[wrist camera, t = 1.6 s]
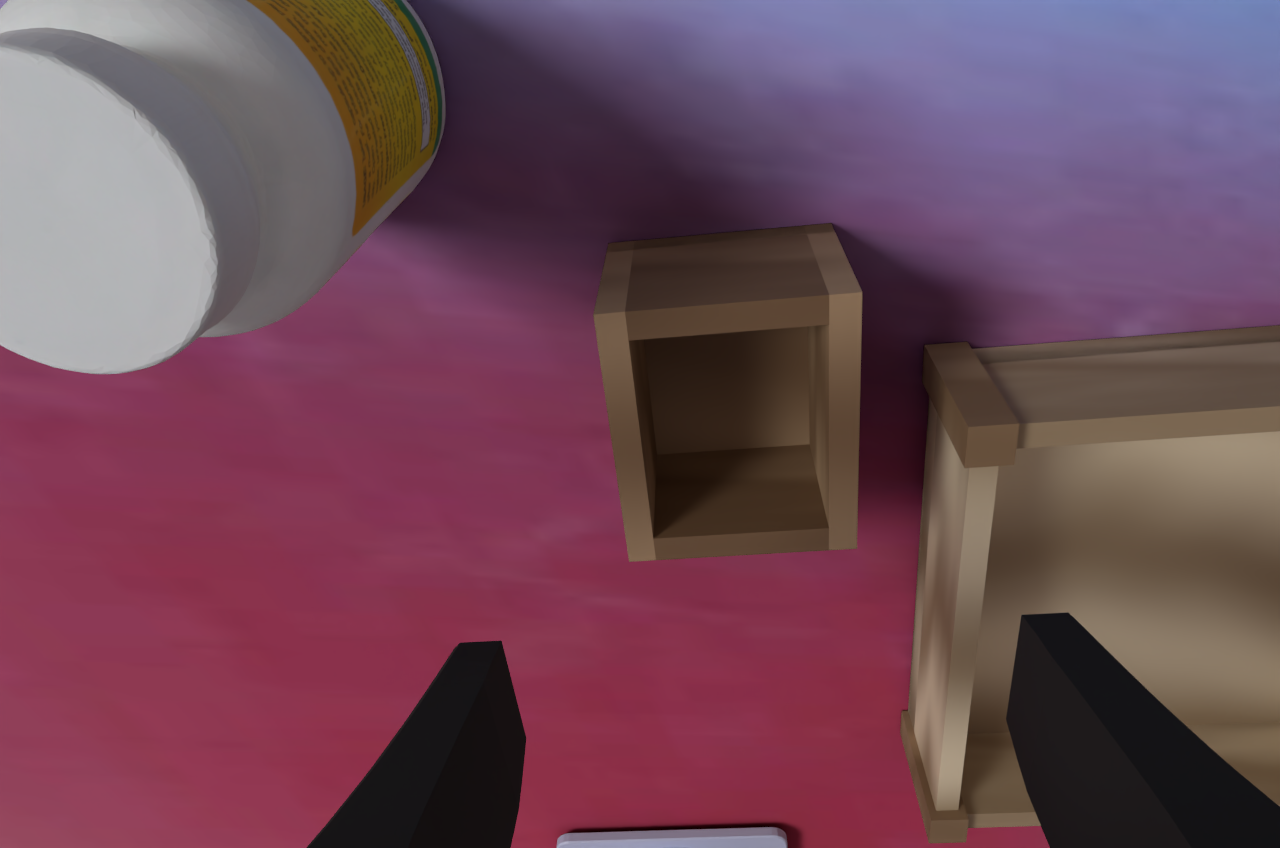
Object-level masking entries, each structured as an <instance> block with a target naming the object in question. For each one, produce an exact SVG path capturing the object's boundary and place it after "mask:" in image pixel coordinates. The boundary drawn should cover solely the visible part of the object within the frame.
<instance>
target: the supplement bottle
mask: <svg viewBox="0 0 1280 848" xmlns="http://www.w3.org/2000/svg"><path fill="white" fill-rule="evenodd" d="M445 118H446V104H445V90H444V84H443V78H442V73H441V68H440V64H439V61H438V57H437V54H436V51H435V49H434V46H433V43H432V41H431V39H430V36H429V34H428V32H427V30H426V28H425V27H424V25H423V23H422V21H421V20H420V18H419V17H418V15H417V14H416V12H415V11H414V9H413V8H412V6H411V5H410V4H409V3H408V2H407V0H8V1H7V2H6V4H5V5H4V6H3V7H2V8H1V9H0V345H1V346H3V347H5V348H7V349H9V350H11V351H13V352H15V353H17V354H19V355H22V356H24V357H27V358H29V359H32V360H35V361H37V362H40V363H43V364H46V365H49V366H51V367H55V368H60V369H66V370H71V371H77V372H83V373H92V374H118V373H126V372H131V371H136V370H140V369H145V368H148V367H151V366H154V365H156V364H159V363H162V362H164V361H166V360H167V359H169V358H171V357H172V356H174V355H176V354H177V353H179V352H181V351H182V350H183V349H185V348H186V347H187V346H188V345H189V344H191V343H192V342H193V341H194V340H196V339H197V338H198V337H219V336H227V335H234V334H240V333H245V332H249V331H253V330H256V329H259V328H261V327H264V326H267V325H269V324H272V323H274V322H276V321H278V320H280V319H282V318H284V317H285V316H287V315H289V314H290V313H292V312H294V311H295V310H297V309H298V308H299V307H301V306H302V305H303V304H305V303H306V302H307V301H308V300H309V299H311V298H312V297H313V296H314V295H315V294H316V293H317V292H318V291H319V290H320V289H321V288H322V287H323V286H324V285H325V284H326V283H327V282H328V281H329V280H330V278H331V277H332V276H333V275H334V274H335V273H336V272H337V271H338V270H339V269H340V268H341V267H342V266H343V265H344V264H345V263H346V261H347V260H348V259H349V258H350V257H351V256H352V255H353V254H354V253H355V252H356V250H357V249H358V248H359V247H360V246H361V245H362V244H363V243H364V242H365V241H366V240H367V238H368V237H369V236H370V235H371V234H372V233H373V232H374V231H375V229H376V228H377V227H378V226H379V225H380V224H381V223H382V222H383V221H384V220H385V219H386V218H387V217H388V216H389V215H390V214H391V213H392V212H393V211H394V210H395V209H396V208H397V207H398V206H399V205H400V204H401V203H402V202H403V200H404V199H405V198H406V197H407V196H408V195H409V194H410V193H411V192H412V191H413V190H414V189H415V187H416V186H417V185H418V184H419V182H420V181H421V180H422V178H423V177H424V175H425V174H426V172H427V171H428V170H429V168H430V166H431V164H432V163H433V161H434V159H435V156H436V154H437V151H438V148H439V145H440V142H441V139H442V135H443V131H444V125H445Z"/></svg>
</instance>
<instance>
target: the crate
mask: <svg viewBox="0 0 1280 848" xmlns="http://www.w3.org/2000/svg"><path fill="white" fill-rule="evenodd" d="M922 383H923V385H924V387H925V389H926V391H927V393H928V395H929V408H928V423H927V438H926V453H925V468H924V483H923V498H922V513H921V528H920V543H919V558H918V573H917V588H916V603H915V618H914V632H913V647H912V662H911V677H910V692H909V707H908V711H902V714H901V730H900V734H901V737H902V741H903V745H904V749H905V753H906V757H907V760H908V764H909V768H910V772H911V776H912V780H913V783H914V787H915V791H916V795H917V799H918V803H919V806H920V810H921V814H922V818H923V822H924V826H925V830H926V833H927V837H928V841H929V843H956V842H966V837H967V829H968V828H980V827H1014V826H1041V824H1040V822H1039V820H1038V817H1037V815H1036V813H1035V810H1034V808H1033V805H1032V803H1031V800H1030V798H1029V795H1028V793H1027V790H1026V787H1025V783H1024V780H1023V777H1022V774H1021V770H1020V767H1019V764H1018V760H1017V757H1016V753H1015V750H1014V746H1013V743H1012V739H1011V735H1010V732H1009V728H1008V725H1007V721H1006V715H1007V708H1008V702H1009V695H1010V688H1011V682H1012V675H1013V668H1014V661H1015V655H1016V648H1017V641H1018V635H1019V628H1020V621H1021V615H1027V614H1047V613H1067V612H1068V613H1069V614H1070V615H1072V616H1073V617H1074V618H1075V619H1076V620H1077V621H1078V622H1079V623H1080V624H1081V625H1082V626H1083V627H1084V628H1085V629H1086V630H1087V631H1088V632H1089V633H1090V634H1091V635H1092V636H1093V637H1094V638H1095V639H1096V640H1097V641H1098V642H1099V643H1100V644H1101V645H1102V646H1103V647H1104V648H1105V649H1106V650H1107V651H1108V652H1109V653H1110V654H1111V655H1112V656H1113V657H1114V658H1115V659H1116V660H1117V661H1119V662H1120V663H1121V664H1122V665H1123V666H1124V667H1125V668H1126V669H1127V670H1128V671H1129V672H1130V673H1131V674H1132V675H1133V676H1134V677H1135V678H1136V679H1137V680H1138V681H1139V682H1140V683H1141V684H1142V685H1143V686H1144V687H1145V688H1146V689H1147V690H1148V691H1149V692H1150V693H1151V694H1153V695H1154V696H1155V697H1156V698H1157V699H1158V700H1159V701H1160V702H1161V703H1162V704H1163V705H1164V706H1165V707H1166V708H1167V709H1168V710H1170V711H1171V712H1172V713H1173V714H1174V715H1175V716H1176V717H1177V718H1178V719H1179V720H1181V721H1182V722H1183V723H1184V724H1185V725H1186V726H1187V727H1188V728H1189V729H1190V730H1191V731H1193V732H1194V733H1195V734H1196V735H1197V736H1198V737H1199V738H1200V739H1201V740H1202V741H1204V742H1205V743H1206V744H1207V745H1208V746H1209V747H1210V748H1211V749H1212V750H1214V751H1215V752H1216V753H1217V754H1218V755H1219V756H1220V757H1222V758H1223V759H1224V760H1225V761H1226V762H1227V763H1228V764H1230V765H1231V766H1232V767H1233V768H1234V769H1235V770H1237V771H1238V772H1239V773H1240V774H1241V775H1243V776H1244V777H1245V778H1246V779H1247V780H1248V781H1250V782H1251V783H1252V784H1253V785H1254V786H1256V787H1257V788H1258V789H1259V790H1260V791H1262V792H1263V793H1264V794H1265V795H1266V796H1268V797H1269V798H1270V799H1271V800H1272V801H1274V802H1275V803H1276V804H1277V805H1279V806H1280V325H1278V326H1265V327H1252V328H1238V329H1225V330H1212V331H1199V332H1186V333H1173V334H1160V335H1147V336H1134V337H1121V338H1108V339H1094V340H1081V341H1068V342H1055V343H1042V344H1029V345H1016V346H1003V347H990V348H977V349H972V348H971V347H970V345H969V344H968V342H957V343H944V344H931V345H924V357H923V373H922Z"/></svg>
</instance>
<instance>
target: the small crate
mask: <svg viewBox="0 0 1280 848" xmlns="http://www.w3.org/2000/svg"><path fill="white" fill-rule="evenodd" d="M593 316H594V322H595V329H596V336H597V343H598V350H599V357H600V364H601V371H602V378H603V385H604V391H605V398H606V405H607V412H608V419H609V426H610V433H611V440H612V447H613V453H614V460H615V467H616V474H617V481H618V488H619V495H620V502H621V509H622V516H623V522H624V529H625V536H626V543H627V550H628V557H629V562H631V561H649V560H666V559H683V558H701V557H718V556H736V555H753V554H771V553H788V552H805V551H823V550H840V549H857V518H858V472H859V426H860V380H861V334H862V290H861V288H860V286H859V284H858V281H857V279H856V277H855V275H854V273H853V270H852V268H851V266H850V264H849V262H848V259H847V257H846V255H845V253H844V251H843V248H842V246H841V244H840V242H839V239H838V237H837V235H836V233H835V231H834V228H833V226H832V224H831V223H826V224H815V225H804V226H793V227H782V228H771V229H760V230H748V231H737V232H726V233H715V234H704V235H693V236H682V237H671V238H659V239H648V240H637V241H626V242H615V243H608V248H607V252H606V257H605V262H604V266H603V271H602V276H601V281H600V285H599V290H598V295H597V300H596V304H595V309H594V314H593Z"/></svg>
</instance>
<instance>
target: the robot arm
mask: <svg viewBox="0 0 1280 848" xmlns="http://www.w3.org/2000/svg"><path fill="white" fill-rule="evenodd" d="M1006 721H1007V725H1008V728H1009V732H1010V735H1011V739H1012V743H1013V746H1014V750H1015V753H1016V757H1017V760H1018V764H1019V767H1020V770H1021V774H1022V777H1023V780H1024V783H1025V787H1026V790H1027V793H1028V795H1029V798H1030V800H1031V803H1032V805H1033V808H1034V810H1035V813H1036V815H1037V817H1038V820H1039V822H1040V824H1041V827H1042V829H1043V832H1044V834H1045V836H1046V839H1047V841H1048V844H1049V846H1050V848H1280V806H1279V805H1277V804H1276V803H1275V802H1274V801H1272V800H1271V799H1270V798H1269V797H1268V796H1266V795H1265V794H1264V793H1263V792H1262V791H1260V790H1259V789H1258V788H1257V787H1256V786H1254V785H1253V784H1252V783H1251V782H1250V781H1248V780H1247V779H1246V778H1245V777H1244V776H1243V775H1241V774H1240V773H1239V772H1238V771H1237V770H1235V769H1234V768H1233V767H1232V766H1231V765H1230V764H1228V763H1227V762H1226V761H1225V760H1224V759H1223V758H1222V757H1220V756H1219V755H1218V754H1217V753H1216V752H1215V751H1214V750H1212V749H1211V748H1210V747H1209V746H1208V745H1207V744H1206V743H1205V742H1204V741H1202V740H1201V739H1200V738H1199V737H1198V736H1197V735H1196V734H1195V733H1194V732H1193V731H1191V730H1190V729H1189V728H1188V727H1187V726H1186V725H1185V724H1184V723H1183V722H1182V721H1181V720H1179V719H1178V718H1177V717H1176V716H1175V715H1174V714H1173V713H1172V712H1171V711H1170V710H1168V709H1167V708H1166V707H1165V706H1164V705H1163V704H1162V703H1161V702H1160V701H1159V700H1158V699H1157V698H1156V697H1155V696H1154V695H1153V694H1151V693H1150V692H1149V691H1148V690H1147V689H1146V688H1145V687H1144V686H1143V685H1142V684H1141V683H1140V682H1139V681H1138V680H1137V679H1136V678H1135V677H1134V676H1133V675H1132V674H1131V673H1130V672H1129V671H1128V670H1127V669H1126V668H1125V667H1124V666H1123V665H1122V664H1121V663H1120V662H1119V661H1117V660H1116V659H1115V658H1114V657H1113V656H1112V655H1111V654H1110V653H1109V652H1108V651H1107V650H1106V649H1105V648H1104V647H1103V646H1102V645H1101V644H1100V643H1099V642H1098V641H1097V640H1096V639H1095V638H1094V637H1093V636H1092V635H1091V634H1090V633H1089V632H1088V631H1087V630H1086V629H1085V628H1084V627H1083V626H1082V625H1081V624H1080V623H1079V622H1078V621H1077V620H1076V619H1075V618H1074V617H1073V616H1072V615H1070V614H1069V613H1068V612H1067V613H1047V614H1027V615H1021V621H1020V628H1019V635H1018V641H1017V648H1016V655H1015V661H1014V668H1013V675H1012V682H1011V688H1010V695H1009V702H1008V708H1007V715H1006ZM525 745H526V736H525V732H524V728H523V724H522V720H521V716H520V712H519V708H518V704H517V700H516V696H515V692H514V689H513V685H512V681H511V677H510V673H509V669H508V665H507V661H506V657H505V653H504V649H503V645H502V641H487V642H467V643H459V644H458V646H457V647H456V648H455V649H454V650H453V651H452V653H451V654H450V656H449V657H448V659H447V661H446V662H445V664H444V665H443V667H442V668H441V670H440V671H439V673H438V674H437V676H436V677H435V679H434V680H433V682H432V683H431V685H430V686H429V688H428V689H427V691H426V692H425V694H424V695H423V697H422V698H421V700H420V701H419V702H418V704H417V705H416V707H415V708H414V710H413V711H412V713H411V714H410V715H409V717H408V718H407V720H406V721H405V723H404V724H403V725H402V727H401V728H400V730H399V731H398V732H397V734H396V735H395V736H394V738H393V739H392V741H391V742H390V743H389V745H388V746H387V747H386V749H385V750H384V752H383V753H382V754H381V756H380V757H379V758H378V760H377V761H376V763H375V764H374V765H373V767H372V768H371V769H370V771H369V772H368V773H367V774H366V776H365V777H364V778H363V780H362V781H361V782H360V783H359V785H358V786H357V787H356V788H355V790H354V791H353V792H352V793H351V795H350V796H349V797H348V798H347V800H346V801H345V802H344V803H343V805H342V806H341V807H340V808H339V810H338V811H337V812H336V813H335V814H334V816H333V817H332V818H331V819H330V821H329V822H328V823H327V824H326V826H325V827H324V828H323V829H322V830H321V831H320V833H319V834H318V835H317V836H316V837H315V838H314V840H313V841H312V842H311V843H310V844H309V845H308V847H307V848H510V847H511V843H512V838H513V833H514V829H515V824H516V819H517V815H518V810H519V802H520V793H521V785H522V776H523V765H524V755H525ZM557 848H788V847H787V836H786V833H785V832H784V831H783V830H782V829H779V828H777V827H750V828H717V829H684V830H650V831H617V832H584V833H566V834H563V835H561V836H560V837H559V838H558V841H557Z"/></svg>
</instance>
